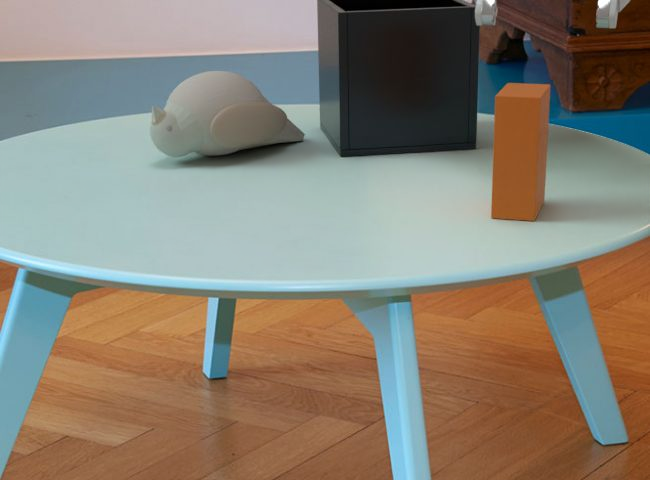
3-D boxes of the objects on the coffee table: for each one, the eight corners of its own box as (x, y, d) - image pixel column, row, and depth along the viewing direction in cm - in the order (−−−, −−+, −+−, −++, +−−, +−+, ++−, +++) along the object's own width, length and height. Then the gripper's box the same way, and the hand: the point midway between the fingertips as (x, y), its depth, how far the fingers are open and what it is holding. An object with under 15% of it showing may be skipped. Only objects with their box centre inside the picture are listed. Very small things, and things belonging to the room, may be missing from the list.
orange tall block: (544, 202, 87) (550, 84, 84) (534, 221, 83) (540, 97, 79) (502, 199, 88) (507, 82, 85) (490, 218, 83) (495, 95, 80)
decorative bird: (129, 159, 103) (122, 76, 100) (263, 130, 113) (260, 54, 110) (188, 176, 97) (182, 87, 94) (324, 143, 107) (322, 63, 104)
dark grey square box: (442, 120, 115) (444, -8, 110) (476, 149, 104) (480, 6, 99) (320, 127, 114) (316, -3, 109) (340, 156, 102) (338, 12, 97)
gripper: (437, -141, 94) (408, -6, 89) (696, -147, 88) (679, -3, 83) (448, -86, 100) (421, 44, 95) (692, -89, 94) (676, 50, 89)
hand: (544, 22), depth 89 cm, fingers open, 8 cm apart
